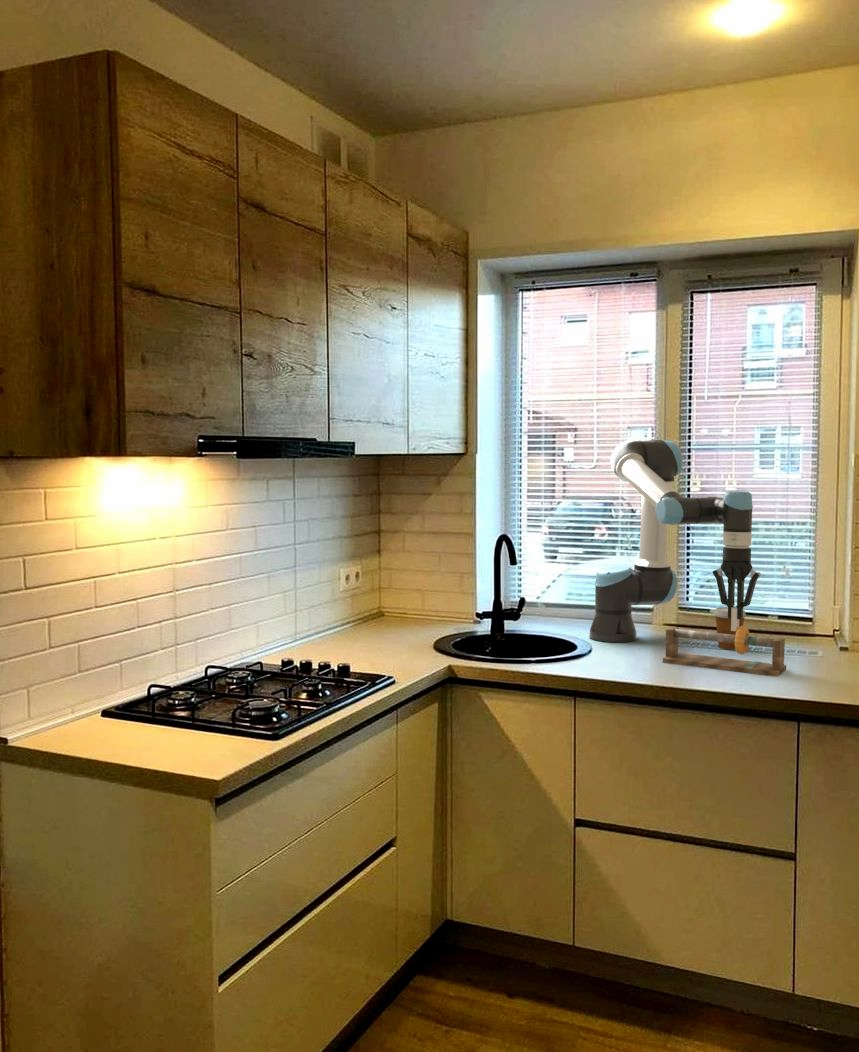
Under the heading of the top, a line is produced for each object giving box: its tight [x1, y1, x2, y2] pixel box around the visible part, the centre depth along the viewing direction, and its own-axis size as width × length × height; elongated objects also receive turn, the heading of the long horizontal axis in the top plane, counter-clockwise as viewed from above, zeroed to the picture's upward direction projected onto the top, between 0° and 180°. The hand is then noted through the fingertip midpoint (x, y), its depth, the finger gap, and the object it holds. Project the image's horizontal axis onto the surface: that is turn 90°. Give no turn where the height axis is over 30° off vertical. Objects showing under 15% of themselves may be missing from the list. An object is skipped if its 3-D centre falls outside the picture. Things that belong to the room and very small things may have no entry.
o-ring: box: [734, 625, 751, 655], centre depth 263 cm, size 3×8×8 cm, turn 147°
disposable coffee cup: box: [713, 606, 747, 650], centre depth 292 cm, size 10×10×12 cm
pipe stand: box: [661, 626, 787, 677], centre depth 266 cm, size 32×10×9 cm, turn 56°
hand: (735, 630), depth 264 cm, fingers closed
